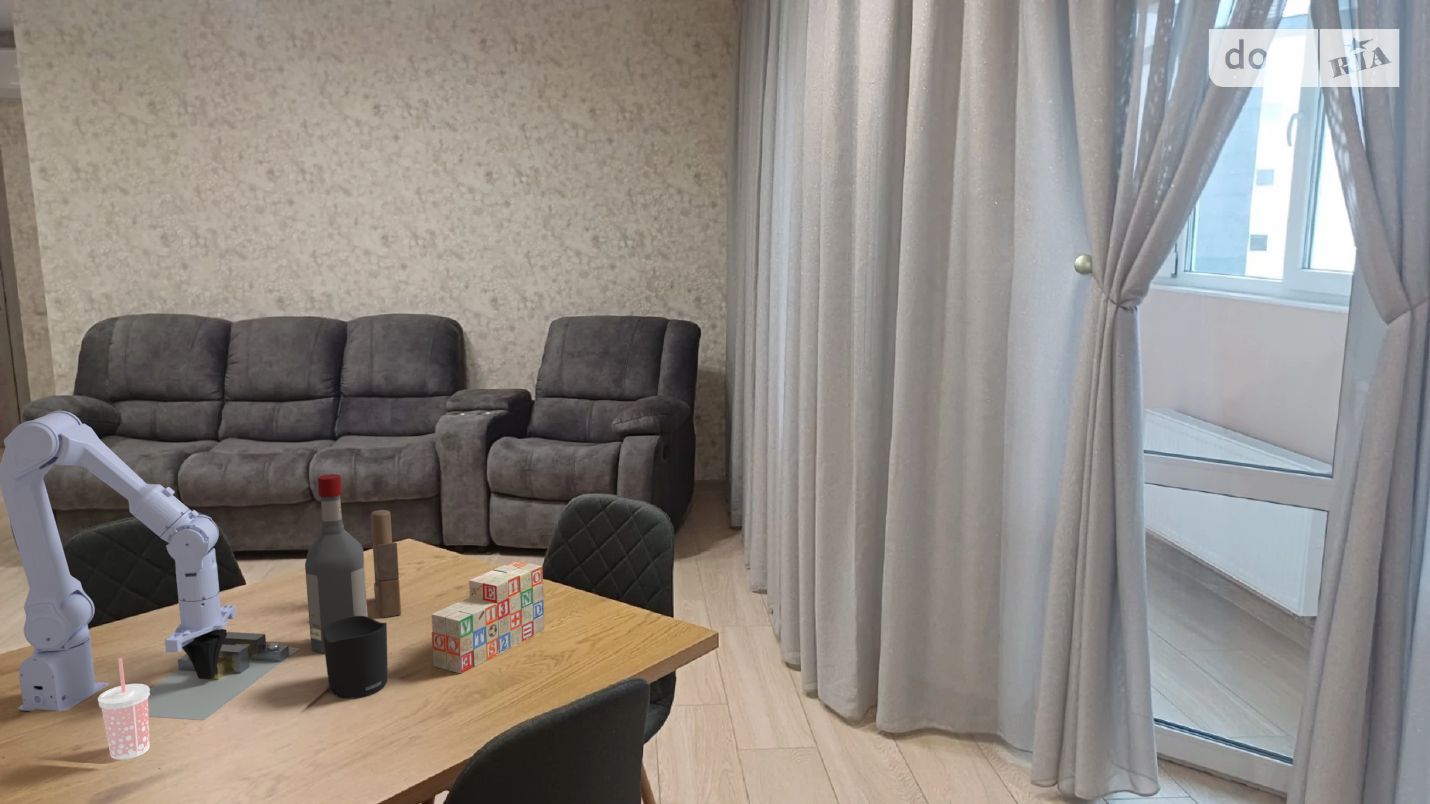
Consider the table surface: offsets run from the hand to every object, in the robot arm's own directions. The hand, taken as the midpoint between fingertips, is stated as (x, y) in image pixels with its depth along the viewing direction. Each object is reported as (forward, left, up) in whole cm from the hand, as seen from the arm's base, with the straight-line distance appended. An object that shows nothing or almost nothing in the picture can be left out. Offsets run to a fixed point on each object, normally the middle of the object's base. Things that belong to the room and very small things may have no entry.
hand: (206, 677), depth 160 cm
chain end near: (+5, +2, -1) cm, 5 cm away
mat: (+1, 0, -1) cm, 2 cm away
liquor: (+18, -13, -2) cm, 22 cm away
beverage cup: (-21, -3, -2) cm, 21 cm away
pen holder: (+3, -24, -2) cm, 24 cm away
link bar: (+7, 0, -1) cm, 7 cm away
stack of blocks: (+20, -39, -2) cm, 44 cm away
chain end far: (+10, -2, -1) cm, 10 cm away
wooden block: (+36, -13, -2) cm, 38 cm away
